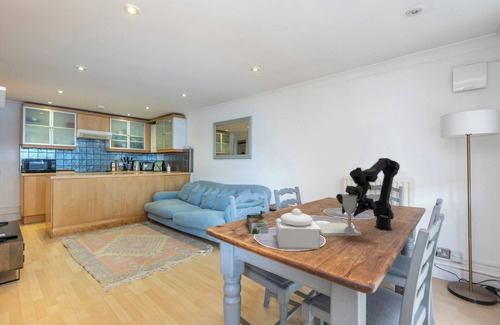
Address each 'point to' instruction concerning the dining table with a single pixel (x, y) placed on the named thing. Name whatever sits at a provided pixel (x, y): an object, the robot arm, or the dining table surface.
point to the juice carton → (257, 224)
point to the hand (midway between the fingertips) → (347, 214)
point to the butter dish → (297, 231)
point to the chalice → (349, 209)
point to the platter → (335, 229)
